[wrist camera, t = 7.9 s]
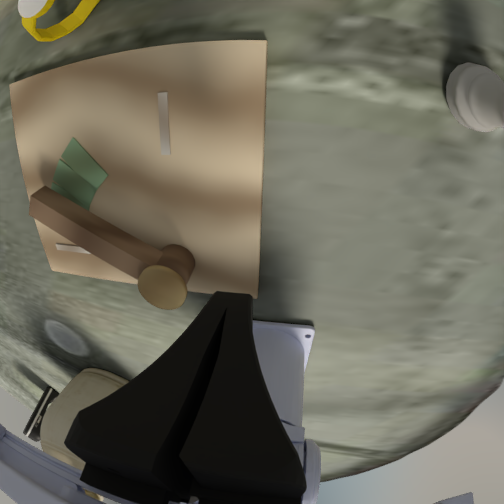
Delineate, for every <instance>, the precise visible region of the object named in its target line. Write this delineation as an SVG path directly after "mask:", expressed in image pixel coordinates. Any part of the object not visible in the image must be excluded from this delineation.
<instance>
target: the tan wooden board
mask: <svg viewBox="0 0 504 504" xmlns="http://www.w3.org/2000/svg"><path fill="white" fill-rule="evenodd" d="M267 46H268V41H267V40H223V41H203V42H189V43H179V44H169V45H161V46H154V47H147V48H140V49H134V50H129V51H123V52H118V53H113V54H108V55H104V56H99V57H95V58H91V59H87V60H83V61H79V62H75V63H72V64H68V65H65V66H61V67H58V68H55V69H51V70H48V71H45V72H42V73H39V74H36V75H34V76H31V77H28V78H25V79H23V80H20V81H17V82H15V83H12V84H10V96H11V106H12V114H13V122H14V129H15V135H16V141H17V147H18V152H19V158H20V163H21V167H22V172H23V176H24V181H25V185H26V189H27V193H28V197H29V201H30V196H31V195H32V194H33V193H35V192H36V191H38V190H39V189H40V188H42V187H43V186H47V187H49V188H50V189H52V190H54V191H55V192H57V193H59V194H60V195H62V196H64V197H65V198H67V199H69V200H71V201H72V202H74V203H76V204H77V205H79V206H81V207H83V208H84V209H86V210H88V211H90V212H91V213H93V214H95V215H97V216H98V217H100V218H102V219H104V220H105V221H107V222H109V223H111V224H112V225H114V226H116V227H118V228H120V229H121V230H123V231H125V232H127V233H129V234H130V235H132V236H134V237H136V238H138V239H140V240H141V241H143V242H145V243H147V244H149V245H151V246H152V247H154V248H156V249H158V250H160V251H161V250H162V249H163V248H164V247H165V246H167V245H170V244H177V245H181V246H183V247H185V248H186V249H188V250H189V251H190V252H191V253H192V255H193V257H194V259H195V268H194V270H193V272H192V274H191V277H190V279H189V281H188V283H187V285H186V286H187V291H191V292H200V293H208V294H214V293H215V292H216V291H222V292H233V293H245V294H250V295H251V296H252V297H253V299H257V296H258V287H259V264H260V241H261V217H262V191H263V165H264V138H265V109H266V79H267ZM35 222H36V225H37V228H38V231H39V235H40V238H41V241H42V244H43V247H44V250H45V252H46V255H47V258H48V261H49V263H50V266H51V269H52V271H58V272H64V273H69V274H75V275H81V276H87V277H93V278H99V279H106V280H112V281H119V282H125V283H132V284H138V280H137V279H135V278H133V277H131V276H130V275H128V274H126V273H124V272H122V271H121V270H119V269H117V268H115V267H114V266H112V265H110V264H108V263H107V262H105V261H103V260H101V259H100V258H98V257H96V256H94V255H93V254H91V253H89V252H88V251H86V250H84V249H83V248H81V247H79V246H78V245H76V244H74V243H73V242H71V241H69V240H68V239H66V238H65V237H63V236H61V235H60V234H58V233H57V232H55V231H53V230H52V229H50V228H49V227H47V226H46V225H44V224H42V223H41V222H39V221H38V220H36V219H35Z"/></svg>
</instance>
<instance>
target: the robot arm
mask: <svg viewBox="0 0 504 504" xmlns="http://www.w3.org/2000/svg"><path fill="white" fill-rule="evenodd" d="M307 334H309V335H307ZM314 334H315V328H314V327H313V326H309V325H297V324H285V323H275V322H264V321H255V320H253V297H252V296H251V295H250V294H245V293H233V292H222V291H216V292H215V293H214V294H213V295H212V297H211V298H210V300H209V301H208V302H207V304H206V305H205V307H204V308H203V309H202V310H201V312H200V313H199V314H198V316H197V317H196V318H195V319H194V321H193V322H192V323H191V324H190V325H189V327H188V328H187V329H186V330H185V331H184V332H183V334H182V335H181V336H180V337H179V338H178V339H177V340H176V341H175V342H174V343H173V344H172V345H171V346H170V347H169V348H168V349H167V350H166V351H165V352H164V353H163V354H162V355H161V356H160V357H159V358H158V359H157V360H156V361H155V362H154V363H152V364H151V365H150V366H149V367H148V368H146V369H145V370H144V371H143V372H141V373H140V374H139V375H138V376H136V377H135V378H134V379H132V380H131V381H130V382H128V383H127V384H125V385H124V386H122V387H121V388H119V389H118V390H116V391H115V392H113V393H111V394H110V395H108V396H107V397H105V398H103V399H101V400H100V401H98V402H96V403H94V404H92V405H90V406H88V407H86V408H84V409H82V410H80V411H79V412H78V414H77V415H76V417H75V419H74V421H73V423H72V425H71V427H70V429H69V432H68V434H67V436H66V439H65V441H64V444H65V446H66V447H67V448H68V449H69V450H70V451H71V452H72V453H74V454H75V455H76V456H78V457H79V458H80V459H82V460H83V461H84V462H86V463H85V466H84V469H83V471H82V470H80V469H77V468H75V467H73V466H71V465H69V464H67V463H65V462H63V461H60V460H58V459H56V458H54V457H53V456H51V455H49V454H47V453H45V452H43V451H41V450H39V449H38V448H35V447H34V446H32V445H30V444H29V443H27V442H25V441H24V440H22V439H20V438H19V437H17V436H15V435H13V434H12V433H11V432H9V431H7V430H6V429H5V427H3V426H2V425H1V424H0V489H1V490H2V491H3V492H4V493H6V494H7V495H8V496H9V497H10V498H11V499H13V500H14V501H15V502H17V503H18V504H106V503H104V502H102V501H99V500H97V499H95V498H92V497H90V496H88V495H86V494H85V490H84V489H86V490H88V491H91V492H93V493H95V494H98V495H100V496H103V497H105V498H108V499H110V500H113V501H115V502H118V503H121V504H316V502H317V497H318V492H319V484H320V474H321V454H320V448H319V447H318V446H317V445H316V444H315V442H314V440H312V439H305V441H304V432H305V428H304V427H302V413H303V390H304V373H305V369H306V365H307V361H308V358H309V354H310V350H311V346H312V342H313V338H314ZM83 488H84V489H83ZM434 504H474V502H473V493H472V492H469V493H466V494H463V495H459V496H456V497H452V498H448V499H445V500H442V501H439V502H436V503H434Z"/></svg>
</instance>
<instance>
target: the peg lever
mask: <svg viewBox="0 0 504 504" xmlns="http://www.w3.org/2000/svg"><path fill="white" fill-rule="evenodd" d="M29 215H30V216H32V217H33V218H35V219H36V220H38V221H39V222H41V223H42V224H44V225H46V226H47V227H49V228H50V229H52V230H53V231H55V232H57V233H58V234H60V235H61V236H63V237H65V238H66V239H68V240H69V241H71V242H73V243H74V244H76V245H78V246H79V247H81V248H83V249H84V250H86V251H88V252H89V253H91V254H93V255H94V256H96V257H98V258H100V259H101V260H103V261H105V262H107V263H108V264H110V265H112V266H114V267H115V268H117V269H119V270H121V271H122V272H124V273H126V274H128V275H130V276H131V277H133V278H135V279H137V280H138V289H139V291H140V293H141V295H142V296H143V297H144V299H145V300H147V301H148V302H149V303H150V304H152V305H154V306H156V307H158V308H161V309H166V310H172V309H176V308H179V307H180V306H181V305H182V304H183V303H184V301H185V299H186V296H187V286H186V285H187V283H188V281H189V279H190V277H191V274H192V272H193V270H194V268H195V259H194V257H193V255H192V253H191V252H190V251H189V250H188V249H186V248H185V247H183V246H181V245H177V244H170V245H167V246H165V247H164V248H163V249H162V250H161V251H160V250H158V249H156V248H154V247H152V246H151V245H149V244H147V243H145V242H143V241H141V240H140V239H138V238H136V237H134V236H132V235H130V234H129V233H127V232H125V231H123V230H121V229H120V228H118V227H116V226H114V225H112V224H111V223H109V222H107V221H105V220H104V219H102V218H100V217H98V216H97V215H95V214H93V213H91V212H90V211H88V210H86V209H84V208H83V207H81V206H79V205H77V204H76V203H74V202H72V201H71V200H69V199H67V198H65V197H64V196H62V195H60V194H59V193H57V192H55V191H54V190H52V189H50V188H49V187H47V186H43V187H42V188H40V189H39V190H38V191H36V192H35V193H33V194H32V195H31V196H30V207H29Z"/></svg>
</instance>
